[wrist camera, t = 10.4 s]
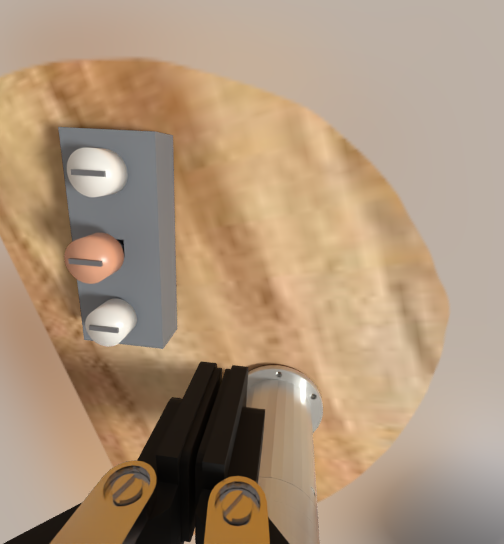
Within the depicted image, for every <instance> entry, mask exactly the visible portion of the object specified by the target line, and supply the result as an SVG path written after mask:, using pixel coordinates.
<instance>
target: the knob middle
mask: <svg viewBox="0 0 504 544" xmlns="http://www.w3.org/2000/svg"><path fill="white" fill-rule="evenodd" d="M123 250H124V244H123V243H122V242H121V241H117V240H116V239H115V238H114V237H113V236H111V235H109V234H106V233H94V234H91V235H88V236H86V237H83V238H80V239H77V240H75V241H73V242H71V243H70V244H69V245H68V246H67V248H66V251H65V256H64V258H65V264H66V267H67V269H68V270H69V272H70V273H71V274H72V275H73V276H74V277H75V278H76V279H77V280H79V281H81V282H83V283H88V284H94V283H98V282H100V281H102V280H103V279H105V278H107V277H108V276H110V275H111V274H113V273H115V272H116V271H118V270H119V269H120V268H121V266H122V264H123V261H124V252H123Z"/></svg>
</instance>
